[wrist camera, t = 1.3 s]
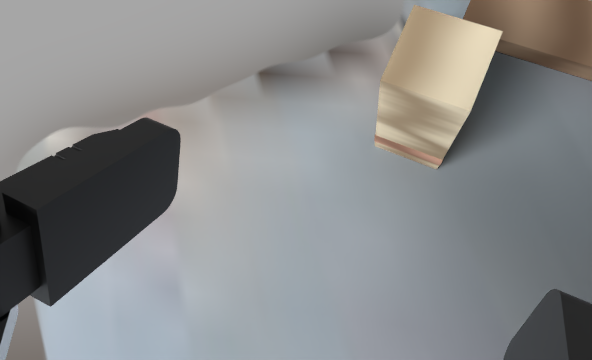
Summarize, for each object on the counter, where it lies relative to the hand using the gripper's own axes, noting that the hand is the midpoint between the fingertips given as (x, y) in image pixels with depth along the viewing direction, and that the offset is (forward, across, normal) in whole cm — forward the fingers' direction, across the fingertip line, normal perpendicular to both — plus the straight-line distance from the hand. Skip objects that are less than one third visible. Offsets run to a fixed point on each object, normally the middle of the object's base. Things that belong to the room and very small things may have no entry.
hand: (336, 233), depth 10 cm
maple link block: (+23, 0, +7) cm, 24 cm away
